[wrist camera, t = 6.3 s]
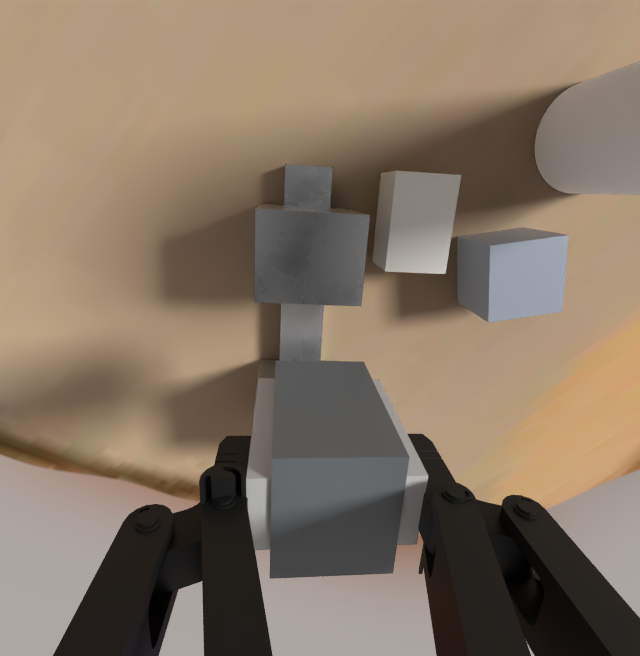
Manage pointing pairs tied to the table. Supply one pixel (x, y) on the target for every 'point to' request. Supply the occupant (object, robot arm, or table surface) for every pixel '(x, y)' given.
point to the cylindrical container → (593, 136)
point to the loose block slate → (511, 273)
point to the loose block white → (415, 221)
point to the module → (333, 473)
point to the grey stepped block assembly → (307, 261)
